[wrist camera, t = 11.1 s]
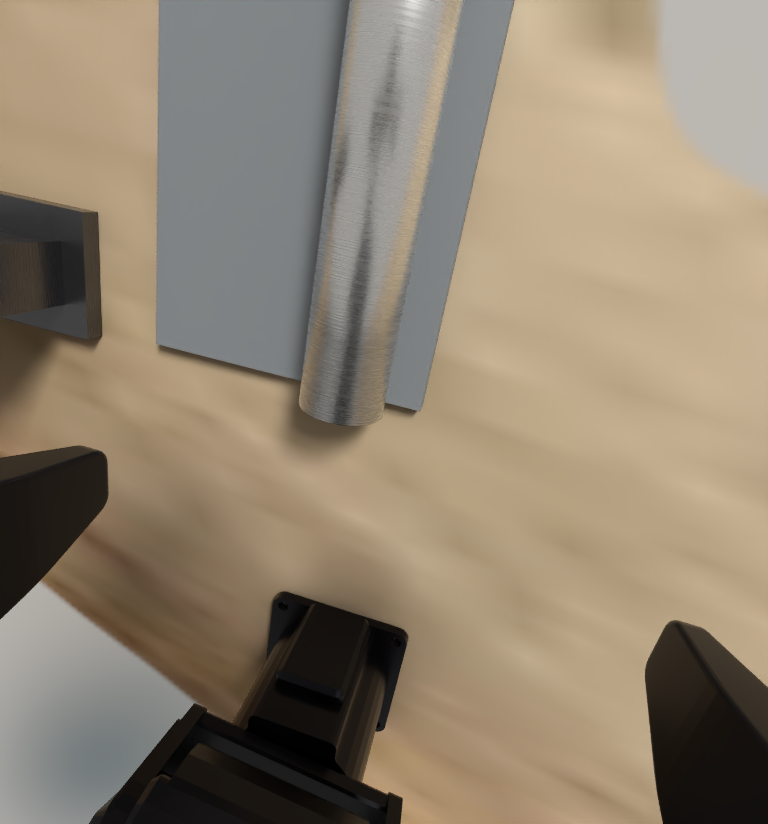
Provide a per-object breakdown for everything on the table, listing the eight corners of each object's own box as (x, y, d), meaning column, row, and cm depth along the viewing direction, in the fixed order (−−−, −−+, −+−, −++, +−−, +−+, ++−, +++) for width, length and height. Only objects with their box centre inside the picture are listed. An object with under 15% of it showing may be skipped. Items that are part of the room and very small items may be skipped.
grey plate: (422, 406, 20) (419, 411, 19) (165, 340, 21) (156, 344, 21) (664, -659, 11) (672, -707, 10) (180, -638, 12) (164, -679, 12)
